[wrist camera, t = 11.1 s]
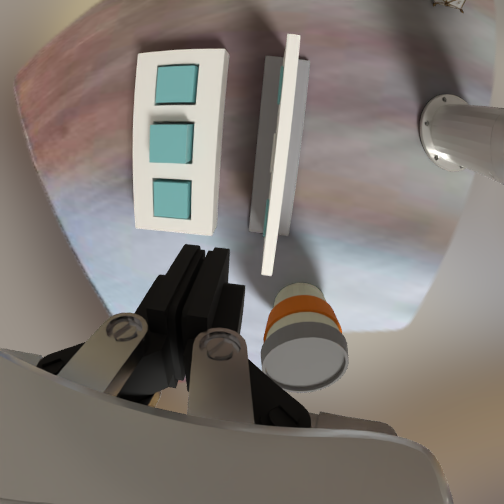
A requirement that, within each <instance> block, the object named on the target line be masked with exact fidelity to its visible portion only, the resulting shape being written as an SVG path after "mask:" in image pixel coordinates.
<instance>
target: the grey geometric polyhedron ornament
mask: <svg viewBox="0 0 504 504" xmlns="http://www.w3.org/2000/svg"><path fill="white" fill-rule="evenodd" d="M465 1H466V0H434V2H435V3H433V6H436V4H441V5H445V6H449V7H453V8H457V9H460V11H461V12H462V13H463V12H464V11H463V10H462V9H461V8H462V6H463V4H464V3H465Z"/></svg>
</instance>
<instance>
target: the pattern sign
mask: <svg viewBox="0 0 504 504" xmlns="http://www.w3.org/2000/svg"><path fill="white" fill-rule="evenodd" d="M299 46H300V35H294V34H288V35H287V41H286V47H285V52H284V57H276V56H266V57H265V67H264V77H263V87H262V97H261V107H260V118H259V128H258V138H257V149H256V159H255V170H254V180H253V191H252V202H251V212H250V223H249V232H257V233H263V237H264V248H263V261H262V273H261V275H267V276H272V272H273V265H274V258H275V251H276V243H277V236H278V235H284V236H289V229H290V223H291V216H292V209H293V202H294V195H295V188H296V180H297V173H298V165H299V158H300V150H301V142H302V134H303V125H304V117H305V108H306V99H307V89H308V80H309V69H310V61H307V60H300V59H298V56H299Z"/></svg>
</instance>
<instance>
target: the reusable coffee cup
mask: <svg viewBox="0 0 504 504" xmlns="http://www.w3.org/2000/svg"><path fill="white" fill-rule="evenodd" d="M261 362H262V372H263V373H265V374H266V375H267V376H268V377H269V378H270V379H272V380H273V381H274V382H275V383H276V384H277V385H279V386H280V387H281V388H282V389H283V390H284V391H289V392H296V393H303V392H304V393H306V392H313V391H317V390H321V389H323V388H326V387H328V386H330V385H332V384H333V383H335V382H336V381H338V380H339V379H340V378H341V377H342V376H343V374H344V373H345V371H346V370H347V367H348V349H347V342H346V339H345V337H344V336H343V335H342V329H341V327H340V324H339V322H338V320H337V318H336V316H335V313H334V311H333V309H332V308H331V306H330V305H329V304H328V303H327V302H326V300H325V298H324V296H323V294H322V292H321V291H320V290H319V289H318V288H317V287H315V286H314V285H311V284H308V283H294V284H291V285H288V286H286V287H284V288H283V289H282V290H281V291H280V292H279V293H278V294H277V296H276V298H275V302H274V306H273V309H272V310H271V312H270V314H269V317H268V321H267V326H266V330H265V334H264V344H263V346H262V349H261Z"/></svg>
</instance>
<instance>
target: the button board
mask: <svg viewBox="0 0 504 504" xmlns="http://www.w3.org/2000/svg"><path fill="white" fill-rule="evenodd" d="M229 56H230V55H229V53H228V52H227V51H226V49H185V50H169V51H157V52H148V53H140V54H138V61H137V71H136V82H135V96H134V115H133V191H134V212H135V226H136V228H139V229H149V230H159V231H169V232H178V233H188V234H198V235H207V236H212V235H213V233H214V231H215V229H216V227H217V216H218V196H219V179H220V163H221V148H222V134H223V121H224V109H225V97H226V86H227V76H228V65H229ZM170 66H197V67H198V68H199V73H198V84H197V96H196V103H156V88H157V76H158V67H170ZM154 124H194V138H193V158H192V160H191V161H189V162H187V163H186V164H181V163H153V162H149V148H150V125H154ZM159 178H163V179H181V180H192V195H191V215H190V216H189V217H188V218H187V219H185V218H174V217H163V216H154V183H153V182H154V181H156V180H157V179H159Z"/></svg>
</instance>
